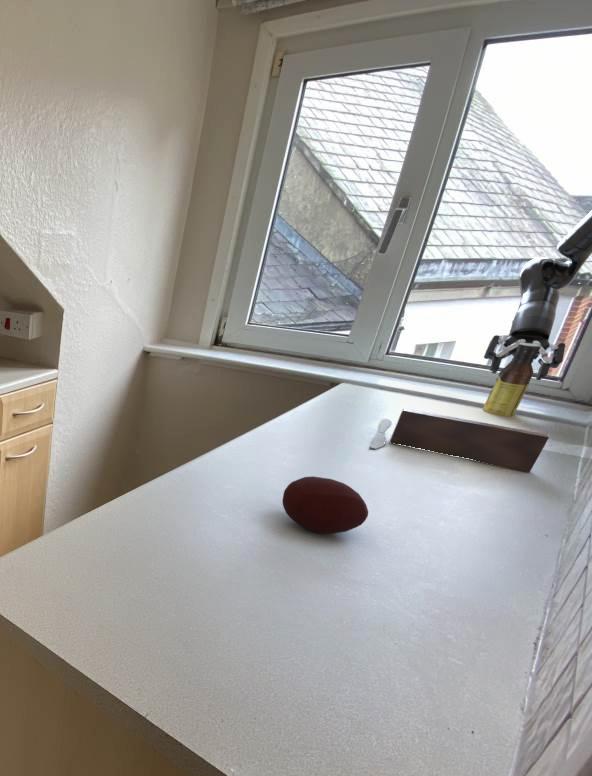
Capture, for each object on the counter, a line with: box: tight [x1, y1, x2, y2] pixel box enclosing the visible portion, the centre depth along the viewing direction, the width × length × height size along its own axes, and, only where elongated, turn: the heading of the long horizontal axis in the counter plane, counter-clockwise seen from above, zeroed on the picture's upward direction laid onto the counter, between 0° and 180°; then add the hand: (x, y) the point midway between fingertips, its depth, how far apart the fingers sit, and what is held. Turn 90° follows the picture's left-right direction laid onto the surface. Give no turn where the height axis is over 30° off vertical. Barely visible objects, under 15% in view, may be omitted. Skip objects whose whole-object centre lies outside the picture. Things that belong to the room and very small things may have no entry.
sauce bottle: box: [482, 343, 541, 417], centre depth 141 cm, size 6×6×20 cm
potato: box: [281, 475, 369, 535], centre depth 89 cm, size 12×11×8 cm
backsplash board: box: [389, 407, 550, 474], centre depth 119 cm, size 24×2×8 cm, turn 53°
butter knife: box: [369, 418, 392, 450], centre depth 132 cm, size 1×27×3 cm
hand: (516, 375), depth 140 cm, fingers open, 8 cm apart
